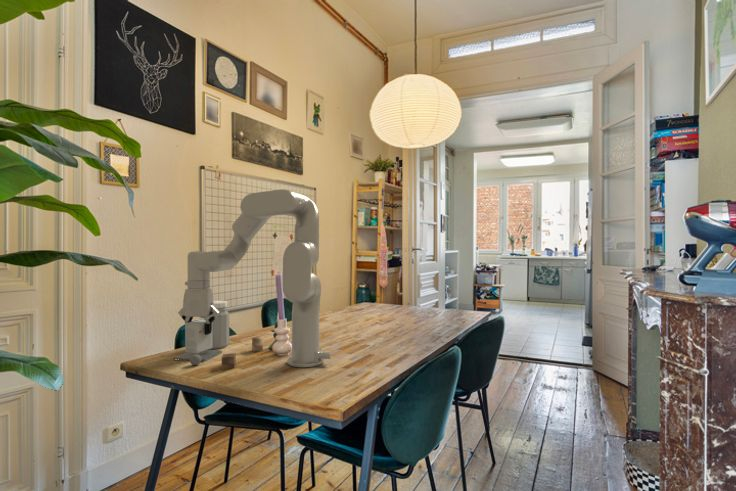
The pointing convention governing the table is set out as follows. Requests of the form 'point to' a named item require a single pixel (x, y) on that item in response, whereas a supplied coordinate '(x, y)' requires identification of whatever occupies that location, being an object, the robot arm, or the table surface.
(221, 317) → the jar
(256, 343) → the cork cylinder
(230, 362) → the walnut block
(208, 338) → the small box
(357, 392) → the table surface
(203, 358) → the slate trivet
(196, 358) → the grey rubber ball
